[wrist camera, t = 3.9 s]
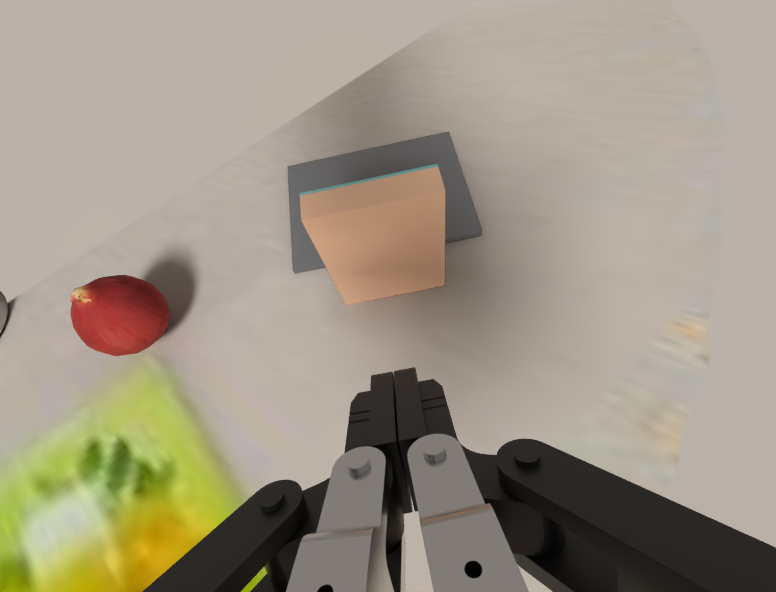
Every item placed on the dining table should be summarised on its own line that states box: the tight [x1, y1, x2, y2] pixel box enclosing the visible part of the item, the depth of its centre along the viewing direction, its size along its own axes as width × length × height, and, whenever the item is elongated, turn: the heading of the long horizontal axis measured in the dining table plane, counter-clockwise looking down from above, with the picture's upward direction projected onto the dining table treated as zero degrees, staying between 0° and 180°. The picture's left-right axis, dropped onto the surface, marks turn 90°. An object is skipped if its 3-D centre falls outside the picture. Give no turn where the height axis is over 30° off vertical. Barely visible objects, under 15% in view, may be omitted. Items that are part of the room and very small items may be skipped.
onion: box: [70, 275, 170, 356], centre depth 28 cm, size 6×6×8 cm
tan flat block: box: [300, 164, 445, 305], centre depth 26 cm, size 8×2×11 cm, turn 99°
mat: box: [288, 132, 482, 274], centre depth 35 cm, size 16×12×1 cm
